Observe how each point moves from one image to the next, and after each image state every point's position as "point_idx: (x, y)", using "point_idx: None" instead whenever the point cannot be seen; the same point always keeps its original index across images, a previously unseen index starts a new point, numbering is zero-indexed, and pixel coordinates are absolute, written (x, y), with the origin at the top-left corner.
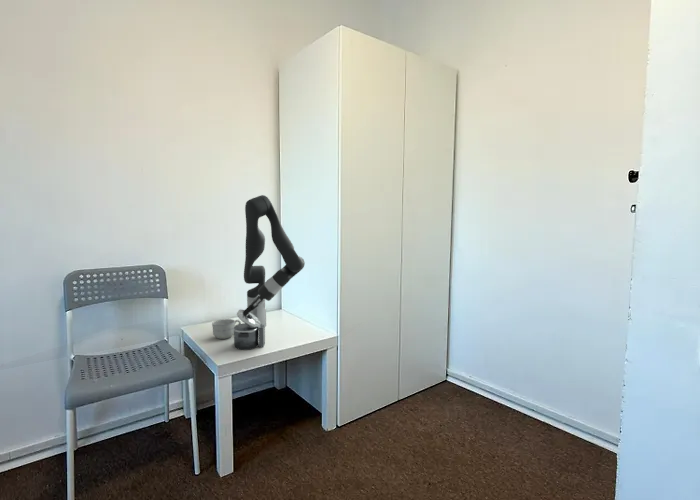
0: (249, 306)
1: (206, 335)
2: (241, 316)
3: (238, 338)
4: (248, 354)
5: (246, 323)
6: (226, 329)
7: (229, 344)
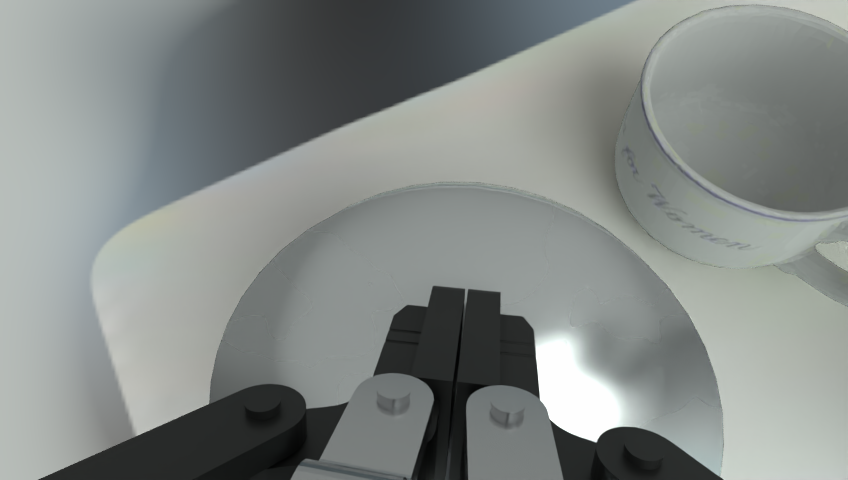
0: (174, 430)
1: None
2: (273, 288)
3: None
4: None
5: None
6: (644, 174)
7: None
